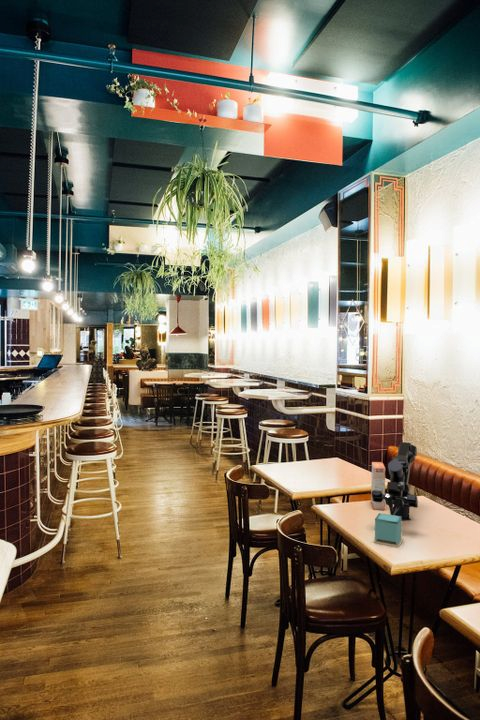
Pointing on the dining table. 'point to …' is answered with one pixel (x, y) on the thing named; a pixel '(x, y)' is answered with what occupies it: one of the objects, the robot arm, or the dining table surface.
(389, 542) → the parcel base
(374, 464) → the cracker box
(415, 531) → the dining table surface
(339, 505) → the dining table surface
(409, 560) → the dining table surface
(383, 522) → the cover
